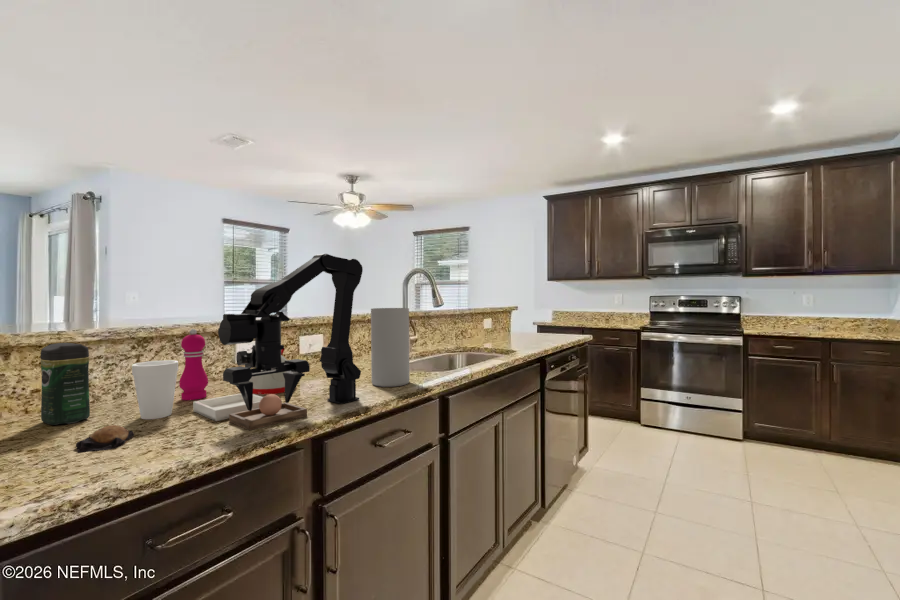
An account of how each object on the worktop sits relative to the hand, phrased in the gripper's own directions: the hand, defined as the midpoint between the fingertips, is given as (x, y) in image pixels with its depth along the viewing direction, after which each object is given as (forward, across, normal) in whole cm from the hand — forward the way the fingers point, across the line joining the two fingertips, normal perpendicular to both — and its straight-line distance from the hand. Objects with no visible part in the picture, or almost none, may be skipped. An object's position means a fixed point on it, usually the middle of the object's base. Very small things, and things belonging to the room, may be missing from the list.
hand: (269, 406), depth 102 cm
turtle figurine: (+4, +29, -10) cm, 31 cm away
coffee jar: (+3, +31, -37) cm, 48 cm away
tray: (+3, 0, 0) cm, 3 cm away
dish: (+3, +2, -15) cm, 15 cm away
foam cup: (+3, +16, -25) cm, 30 cm away
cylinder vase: (+3, -46, -8) cm, 47 cm away
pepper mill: (+3, +3, -38) cm, 38 cm away
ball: (+2, 0, 0) cm, 2 cm away
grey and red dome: (+3, -17, -31) cm, 36 cm away
